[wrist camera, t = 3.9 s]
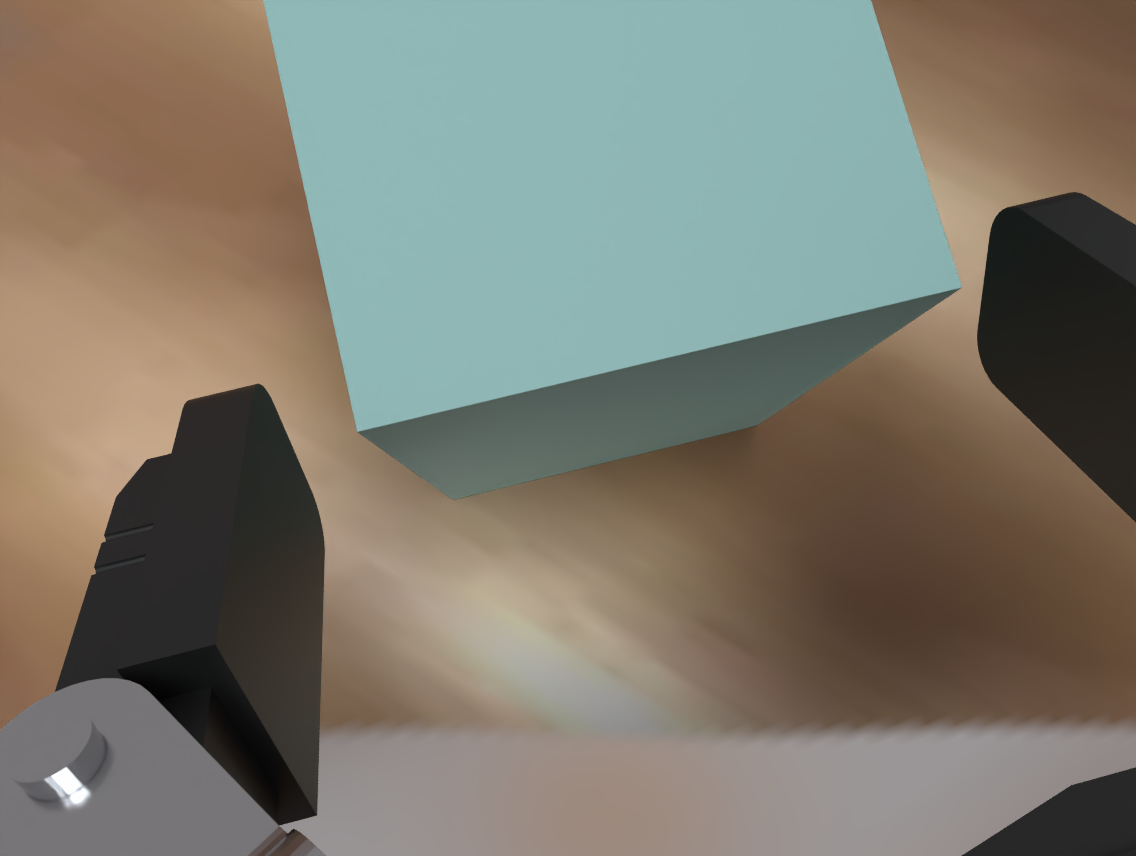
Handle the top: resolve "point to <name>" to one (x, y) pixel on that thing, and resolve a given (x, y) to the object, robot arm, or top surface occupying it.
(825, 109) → the teal square block
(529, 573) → the top surface
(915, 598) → the top surface
